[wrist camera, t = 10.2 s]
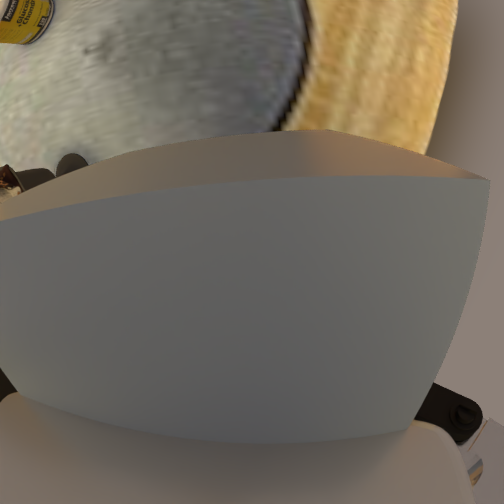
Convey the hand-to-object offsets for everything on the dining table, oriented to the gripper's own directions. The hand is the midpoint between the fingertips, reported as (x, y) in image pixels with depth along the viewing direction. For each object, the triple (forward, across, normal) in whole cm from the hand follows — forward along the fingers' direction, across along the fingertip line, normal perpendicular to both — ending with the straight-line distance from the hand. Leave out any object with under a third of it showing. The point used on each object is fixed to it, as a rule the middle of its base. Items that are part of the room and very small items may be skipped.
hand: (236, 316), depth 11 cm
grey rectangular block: (+2, 0, 0) cm, 2 cm away
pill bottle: (+16, +23, -26) cm, 38 cm away
